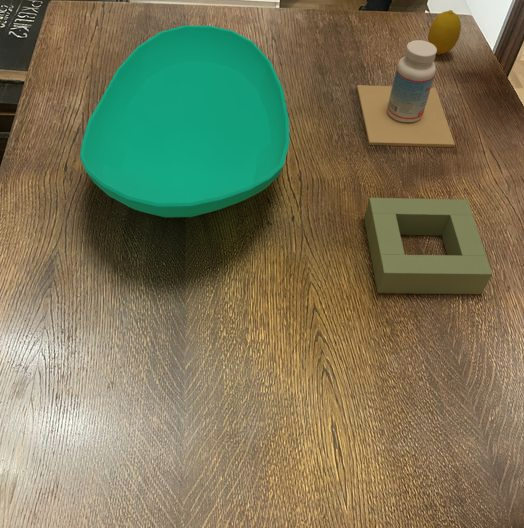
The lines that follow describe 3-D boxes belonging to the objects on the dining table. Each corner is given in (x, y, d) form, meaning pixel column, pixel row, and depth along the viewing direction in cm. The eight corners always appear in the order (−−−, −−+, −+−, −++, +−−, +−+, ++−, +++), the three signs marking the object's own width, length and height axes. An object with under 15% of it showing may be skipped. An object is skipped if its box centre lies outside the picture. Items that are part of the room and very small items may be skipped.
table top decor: (272, 295, 78) (280, 218, 67) (60, 271, 78) (34, 191, 68) (293, 113, 101) (301, 34, 90) (128, 96, 101) (117, 15, 90)
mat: (434, 90, 107) (435, 87, 107) (453, 147, 98) (455, 144, 97) (356, 88, 106) (357, 84, 106) (368, 145, 97) (369, 142, 97)
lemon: (421, 58, 113) (433, 14, 106) (425, 44, 116) (437, 0, 109) (450, 65, 112) (464, 21, 106) (454, 50, 115) (468, 6, 109)
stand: (458, 220, 88) (467, 199, 85) (481, 294, 80) (492, 274, 77) (363, 218, 87) (369, 197, 84) (377, 293, 79) (384, 272, 76)
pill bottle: (425, 124, 100) (445, 59, 91) (388, 123, 100) (405, 57, 91) (419, 103, 104) (438, 38, 94) (383, 102, 103) (399, 36, 94)
